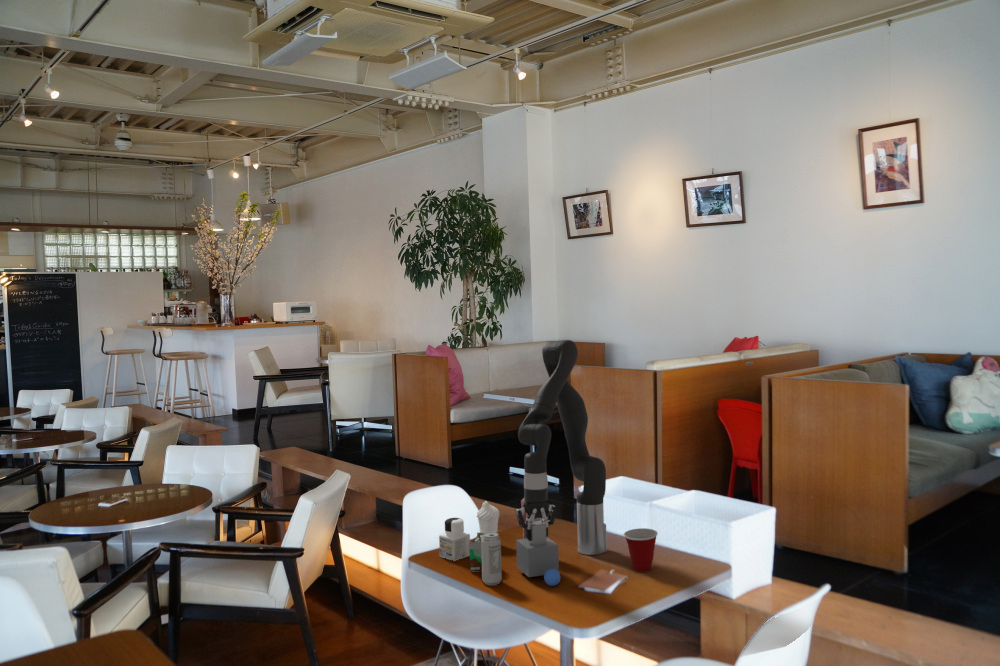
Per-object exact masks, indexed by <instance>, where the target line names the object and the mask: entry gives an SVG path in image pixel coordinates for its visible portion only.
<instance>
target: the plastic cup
mask: <svg viewBox="0 0 1000 666" xmlns="http://www.w3.org/2000/svg"><path fill="white" fill-rule="evenodd" d="M658 534H659V533H658V531H657V530H654V529H652V528H643V527H642V528H641V527H640V528H633V529H629V530H627V531H625V532H624V533H623V536H624V538H625V540H626V544H627V547H628V551H629V557H630V560H631V566H632V570H633V571H634V572H638V573H648V572H650V571H651V570H652V569H653V568H652V567H653V566H652V565H653V560H654V554H655V546H656V540H657V536H658Z"/></svg>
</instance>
